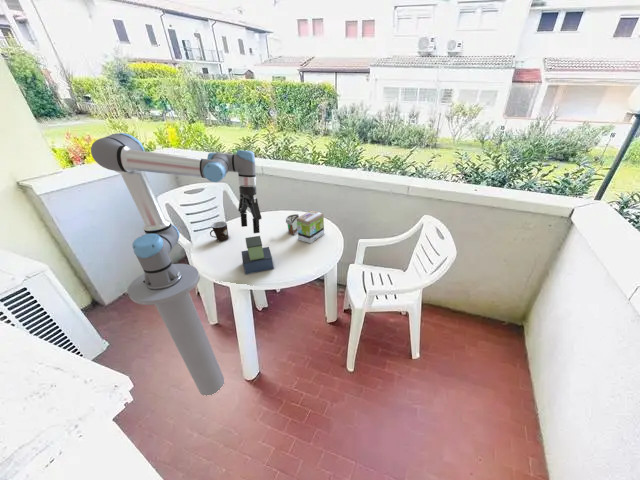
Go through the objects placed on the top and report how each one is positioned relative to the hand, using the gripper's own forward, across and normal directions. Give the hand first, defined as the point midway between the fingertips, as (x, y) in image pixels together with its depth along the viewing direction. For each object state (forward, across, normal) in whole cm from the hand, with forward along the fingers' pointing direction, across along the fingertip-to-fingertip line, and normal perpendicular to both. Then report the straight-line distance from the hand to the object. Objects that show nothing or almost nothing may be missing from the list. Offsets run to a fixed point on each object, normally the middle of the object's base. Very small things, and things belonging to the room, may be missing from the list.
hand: (250, 229), depth 140 cm
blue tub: (+21, +2, -4) cm, 22 cm away
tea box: (+13, +9, -44) cm, 47 cm away
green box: (+14, +1, -3) cm, 15 cm away
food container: (+12, +24, -39) cm, 48 cm away
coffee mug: (+18, +44, 0) cm, 47 cm away
